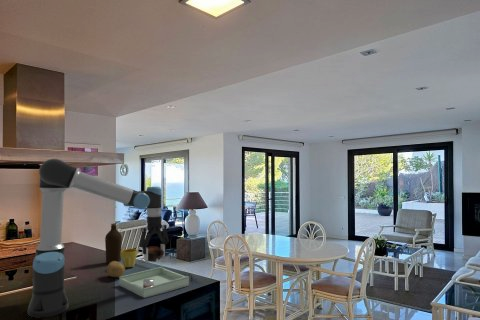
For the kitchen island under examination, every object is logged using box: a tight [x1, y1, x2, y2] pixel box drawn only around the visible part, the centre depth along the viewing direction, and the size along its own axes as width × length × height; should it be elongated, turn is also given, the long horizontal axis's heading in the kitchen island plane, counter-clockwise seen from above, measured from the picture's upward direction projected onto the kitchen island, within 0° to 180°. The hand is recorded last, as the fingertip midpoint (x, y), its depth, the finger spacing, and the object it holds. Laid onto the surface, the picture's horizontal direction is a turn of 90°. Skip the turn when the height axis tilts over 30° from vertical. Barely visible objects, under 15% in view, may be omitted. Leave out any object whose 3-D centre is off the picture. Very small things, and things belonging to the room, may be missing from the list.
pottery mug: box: [144, 245, 164, 263], centre depth 179 cm, size 12×9×8 cm
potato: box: [106, 261, 126, 278], centre depth 192 cm, size 10×14×8 cm
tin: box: [143, 279, 154, 288], centre depth 165 cm, size 5×5×6 cm
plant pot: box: [121, 248, 138, 268], centre depth 214 cm, size 10×10×10 cm
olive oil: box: [104, 222, 123, 264], centre depth 225 cm, size 11×11×25 cm
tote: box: [118, 266, 190, 299], centre depth 177 cm, size 26×26×5 cm
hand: (154, 258), depth 177 cm, fingers closed on pottery mug, 9 cm apart
